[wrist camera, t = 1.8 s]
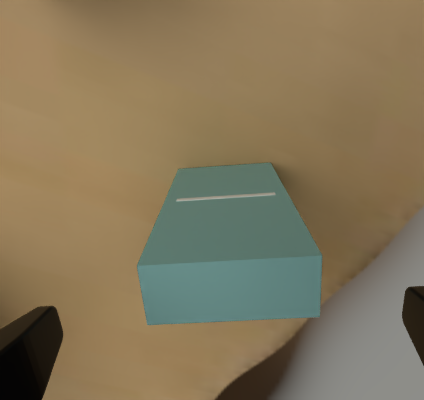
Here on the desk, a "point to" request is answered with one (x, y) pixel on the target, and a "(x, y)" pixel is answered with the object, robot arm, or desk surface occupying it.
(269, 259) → the head tile
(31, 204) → the desk surface
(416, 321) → the robot arm
